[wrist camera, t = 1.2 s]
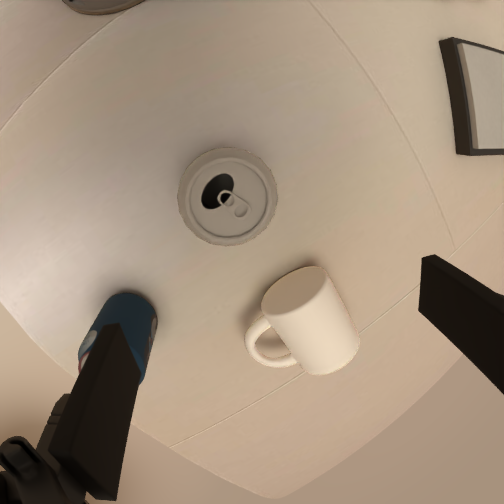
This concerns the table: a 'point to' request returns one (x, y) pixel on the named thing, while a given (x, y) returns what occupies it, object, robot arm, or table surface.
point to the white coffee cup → (306, 323)
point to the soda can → (125, 327)
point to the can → (227, 196)
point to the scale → (475, 96)
